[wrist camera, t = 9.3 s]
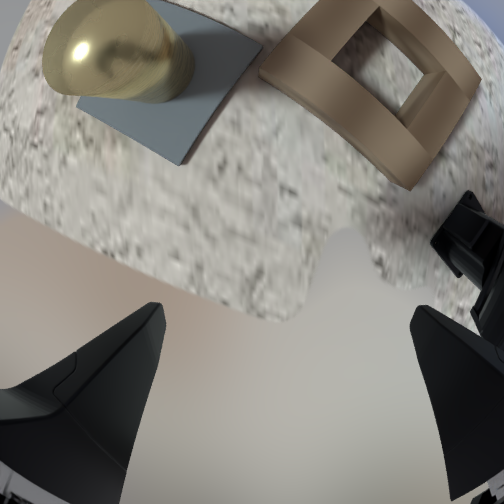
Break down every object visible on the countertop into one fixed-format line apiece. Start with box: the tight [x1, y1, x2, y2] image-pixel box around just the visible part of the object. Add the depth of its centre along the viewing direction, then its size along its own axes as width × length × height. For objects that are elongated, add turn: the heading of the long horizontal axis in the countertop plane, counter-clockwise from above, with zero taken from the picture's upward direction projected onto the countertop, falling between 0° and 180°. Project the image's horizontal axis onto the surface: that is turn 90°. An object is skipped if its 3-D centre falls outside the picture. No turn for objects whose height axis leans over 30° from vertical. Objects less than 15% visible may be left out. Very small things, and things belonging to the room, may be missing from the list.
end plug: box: [42, 0, 195, 104], centre depth 10 cm, size 5×5×9 cm
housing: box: [258, 0, 482, 191], centre depth 13 cm, size 12×12×3 cm
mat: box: [76, 0, 263, 166], centre depth 14 cm, size 10×10×1 cm
